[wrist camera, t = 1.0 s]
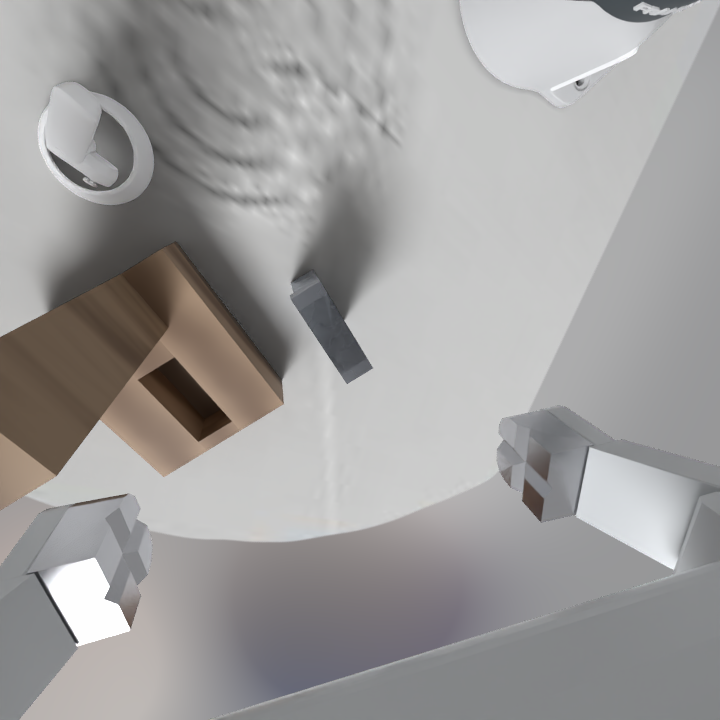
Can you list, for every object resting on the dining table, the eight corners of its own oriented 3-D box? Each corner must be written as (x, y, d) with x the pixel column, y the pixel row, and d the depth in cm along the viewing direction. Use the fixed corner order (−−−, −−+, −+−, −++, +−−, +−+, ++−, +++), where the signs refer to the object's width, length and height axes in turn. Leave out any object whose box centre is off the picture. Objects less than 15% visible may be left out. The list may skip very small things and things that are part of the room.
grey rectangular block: (306, 260, 36) (320, 281, 27) (348, 328, 39) (372, 368, 30) (284, 273, 36) (290, 299, 27) (328, 341, 39) (346, 383, 30)
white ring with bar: (207, 91, 25) (159, 171, 23) (158, 167, 34) (120, 230, 32) (80, -25, 21) (5, 62, 19) (62, 98, 30) (10, 165, 28)
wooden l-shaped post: (176, 241, 33) (19, 317, 12) (281, 380, 40) (297, 579, 19) (47, 321, 33) (-323, 530, 12) (175, 445, 40) (76, 712, 19)
